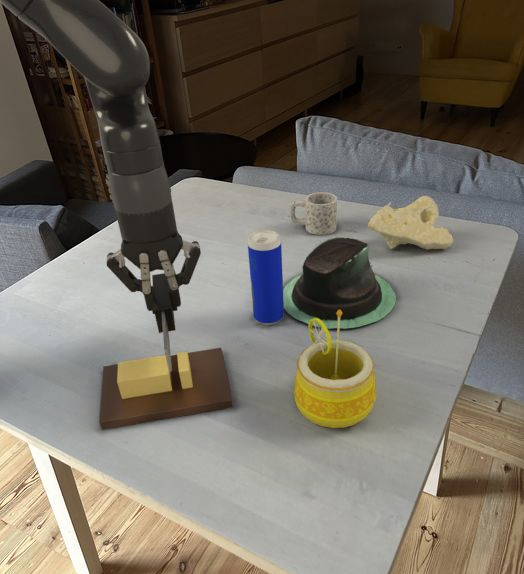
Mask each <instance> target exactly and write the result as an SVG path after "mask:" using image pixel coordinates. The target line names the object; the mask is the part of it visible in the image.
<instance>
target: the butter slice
mask: <svg viewBox="0 0 524 574" xmlns="http://www.w3.org/2000/svg"><path fill="white" fill-rule="evenodd" d="M188 353H189V351H187V350H186V351H181V352H177V353H176V355H177V358H178V368H179V375H180V380H181V385H182V389H186V388H192V387H193V384H192V376H191V369H190V363H189V357H188Z"/></svg>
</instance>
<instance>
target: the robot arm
mask: <svg viewBox="0 0 524 574" xmlns="http://www.w3.org/2000/svg"><path fill="white" fill-rule="evenodd" d="M0 3H1V5H3V6H4V7H5V8H6V9H7V10H9V11H10V12H11V13H12V14H13V15H14V16H15V17H17V18H18V20H20V21H21V22H22V23H23V24H25V25H26V26H28V27H29V28H30V29H32V30H33V31H34V32H35V33H37V34H39V36H41V37H42V38H44V39H45V40H46V41H47V42H48V43H49V44H50V45H51V46H52V47H53V48H54V49H55V50H56V51H57V52H58V53H59V54H60V55H61V56H62V57H63V58H64V59H65V60H66V61H67V62H68V63H69V64H70V65H71V66H72V67H73V68H74V69H75V70H76V71H77V72H78V73H79V74H80V75H82V77H83V79H84V82H85V85H86V88H87V93H88V95H89V98H90V101H91V104H92V109H93V111H94V114H95V117H96V120H97V126H98V130H99V131H98V132H99V139H100V144H101V148H102V153H103V158H104V161H105V165H106V169H107V175H108V176H107V178H108V185H109V191H110V194H111V195H110V196H111V199H112V203H113V207H114V212H115V216H116V219H117V224H118V228H119V232H120V237H121V244H120V249H118V250H116V251H115V252H108V253H107V255H106V267H107V268H108V269H109V270H110V271H111V272H112V274H114V275H115V277H116V278H117V279H118V280H119V281H120V282H121V283H122V284H123V285H124V286H125V288H127V289H128V291H129V292H131V293H136V292H140V293H142V295H143V297H144V303H145V306H146V309H147V311H148V312H152V315H155V313H154V302H153V285H152V280H151V279H152V278H151V273H152V272H154V271H156V270H158V271H163V273H165V276H166V278H167V280H168V283H169V284H168V286H169V293H170V297H171V302H172V307H173V311H174V312H176V311H177V312H178V308H180V307H181V305H182V301H181V293H180V287H181V286H183V285H184V286H187V285H189V284H190V282H191V280H192V277H193V275H194V272H195V270H196V267H197V264H198V262H199V259H200V257H201V255H202V251H201V245H200V243H199V242H198V241H197V240H193V241H192V242H190V241H187V240H183V237H182V235H181V234H180V233H179V231H178V226H177V221H176V214H175V209H174V203H173V197H172V188H171V185H170V180H169V176H168V173H167V170H166V166H165V163H164V157H163V151H162V144H161V139H160V135H159V130H158V127H157V123H156V121H155V119H154V116H153V115H152V113H151V110H150V107H149V101H148V96H147V91H146V85H147V83H148V81H149V79H150V73H151V61H150V55H149V52H148V50H147V48H146V45H145V43H144V42H143V40H142V39H141V37H139V36H138V35H137V33H136V32H135V31H134V30H133V29H131V28H130V27H129V26H128V25H127V24H126V23H125V22H124V21H123V20H122V19H120V17H118V16H117V14H115V13H114V12H113V11H112V10H111V9H110V8H109V7H107V6H106V4H104V3H103V2H102V1H100V0H0ZM181 250H182V251H183V256H184V258H185V259H184V262H183V264H182V267H181V270H180V272H179V273H176V270H175V267H174V263H175V261H176V259H177V257H178V256H179V254H180V252H181ZM125 258H126V259H127V260H128V261H129V262H131V263H132V264H133V265H134V266H135V267H136V268H138V269H139V270H140V278H138V277H137V276H135V274H134V273H133V272H132V271H131V270H130V268H129V267H127V266H126V259H125Z"/></svg>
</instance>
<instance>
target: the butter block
mask: <svg viewBox="0 0 524 574" xmlns="http://www.w3.org/2000/svg"><path fill="white" fill-rule="evenodd" d="M117 364H118V376H117V383H118V387H119V390H120V393H121V397H122V399H126V398H132V397H138V396H144V395H150V394H156V393H162V392H168V391H172V380H171V371H170V372H169V370H168V365H167V360H166V356H165V354H163V355H156V356H149V357H142V358H136V359H130V360H125V361H118V362H117Z"/></svg>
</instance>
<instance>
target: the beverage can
mask: <svg viewBox="0 0 524 574" xmlns="http://www.w3.org/2000/svg"><path fill="white" fill-rule="evenodd" d="M247 241H248V242H247V251H248V252H247V253H248V265H249V278H250V290H251V301H252V302H251V303H252V313H253V318H254V320H255V321H256V322H257V323H259V324H260V325H265V326H272V325H273V326H274V325H277V324H278V323H280V322H281V321H282V319H284V316H285V308H284V300H283V290H284V278H283V253H282V239H281V238H280V234H279V233H278V232H276V231H274V230H269V229H263V230H262V229H261V230H257V231H254V232H252V233H251V234H249V237H248V240H247Z"/></svg>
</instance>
